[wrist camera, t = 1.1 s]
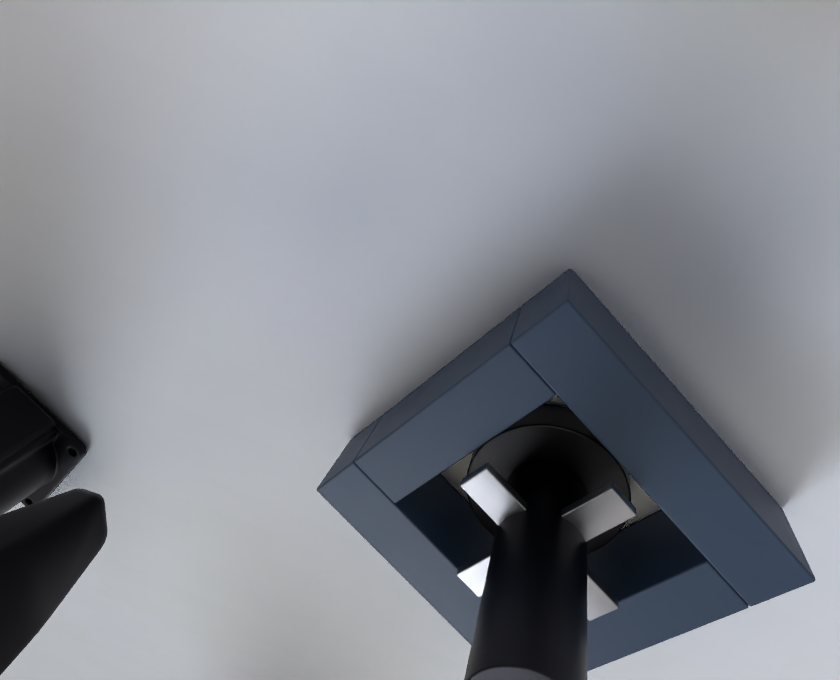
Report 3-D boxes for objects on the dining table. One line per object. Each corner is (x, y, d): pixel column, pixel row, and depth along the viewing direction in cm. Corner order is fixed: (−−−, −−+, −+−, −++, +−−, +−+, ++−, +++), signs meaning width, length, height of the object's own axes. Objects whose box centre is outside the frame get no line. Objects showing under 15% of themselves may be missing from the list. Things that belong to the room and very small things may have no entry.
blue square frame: (530, 625, 26) (522, 697, 23) (349, 440, 25) (315, 490, 22) (783, 509, 21) (817, 581, 18) (570, 267, 20) (567, 299, 16)
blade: (537, 563, 25) (509, 827, 16) (432, 453, 24) (341, 665, 15) (674, 492, 22) (734, 766, 13) (559, 365, 21) (539, 562, 12)
